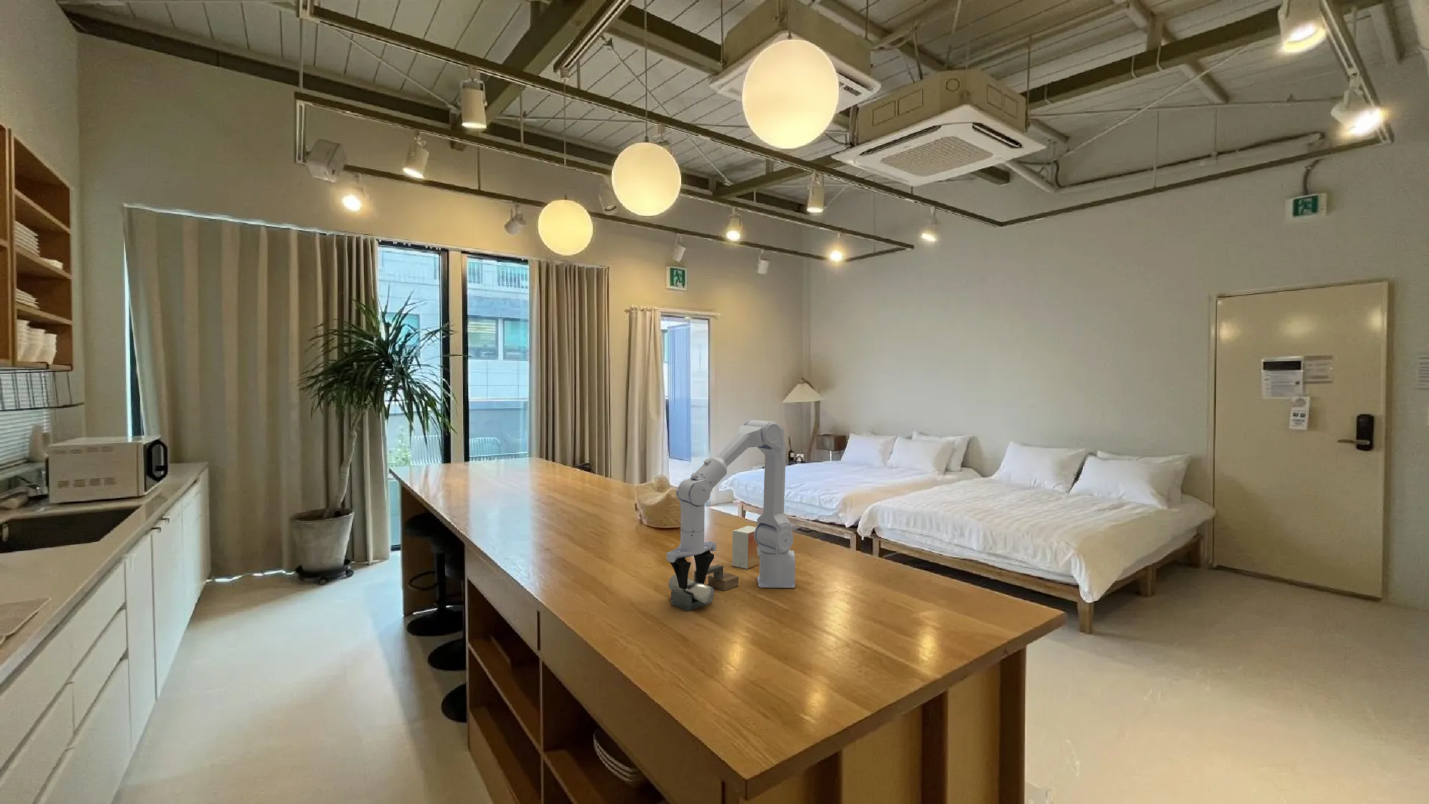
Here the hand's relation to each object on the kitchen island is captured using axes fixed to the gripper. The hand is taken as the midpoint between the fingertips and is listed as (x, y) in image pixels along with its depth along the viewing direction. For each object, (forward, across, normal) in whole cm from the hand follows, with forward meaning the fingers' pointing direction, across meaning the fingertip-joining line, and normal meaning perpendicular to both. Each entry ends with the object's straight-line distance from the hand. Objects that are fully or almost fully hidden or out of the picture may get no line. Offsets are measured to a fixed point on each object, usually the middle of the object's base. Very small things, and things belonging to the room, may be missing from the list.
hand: (691, 585), depth 143 cm
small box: (+5, -33, -12) cm, 35 cm away
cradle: (+4, 0, 0) cm, 4 cm away
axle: (+3, 0, 0) cm, 3 cm away
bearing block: (+4, -11, -4) cm, 13 cm away
